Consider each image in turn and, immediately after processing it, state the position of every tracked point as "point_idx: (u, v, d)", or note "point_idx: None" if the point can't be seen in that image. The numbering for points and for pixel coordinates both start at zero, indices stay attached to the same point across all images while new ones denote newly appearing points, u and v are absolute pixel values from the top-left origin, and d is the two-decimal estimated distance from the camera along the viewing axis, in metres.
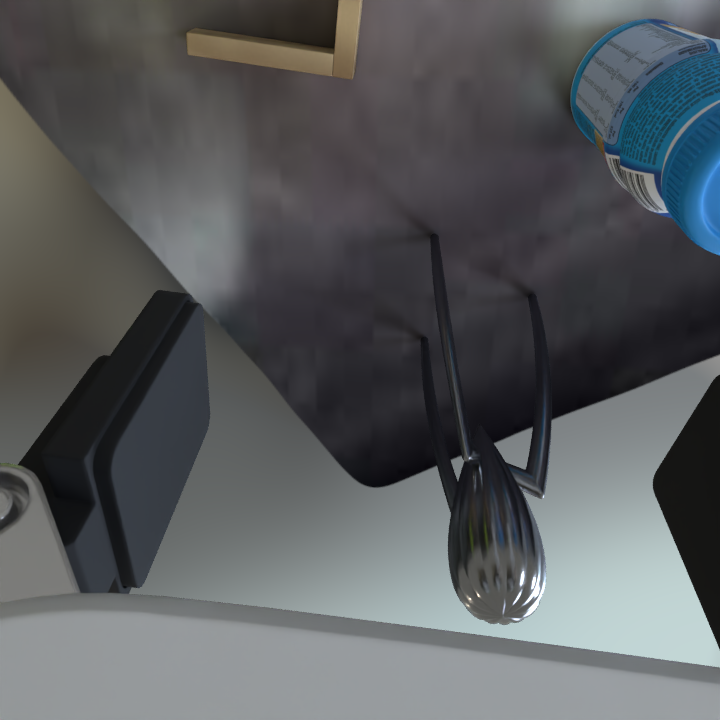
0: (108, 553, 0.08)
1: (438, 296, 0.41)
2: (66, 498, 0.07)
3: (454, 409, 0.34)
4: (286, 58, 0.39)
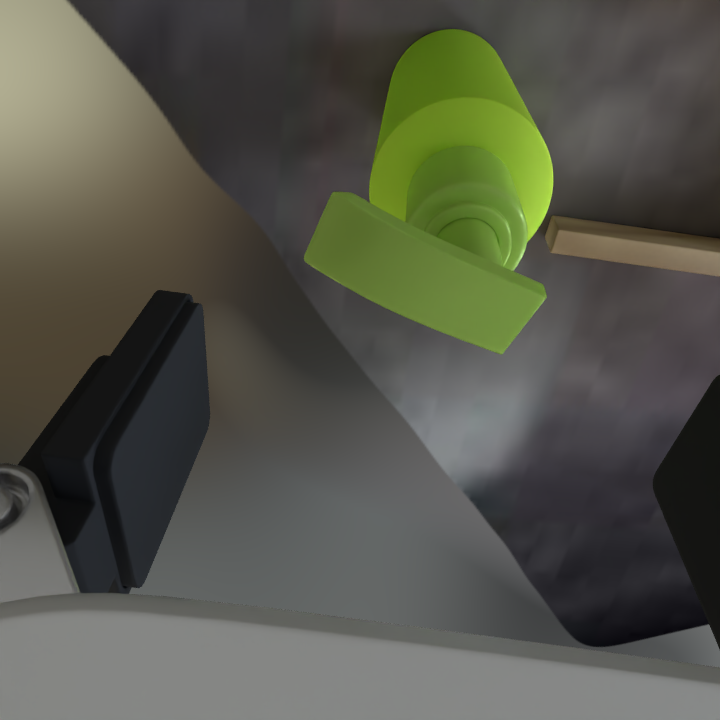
0: (108, 553, 0.08)
1: None
2: (66, 498, 0.07)
3: None
4: (679, 259, 0.31)
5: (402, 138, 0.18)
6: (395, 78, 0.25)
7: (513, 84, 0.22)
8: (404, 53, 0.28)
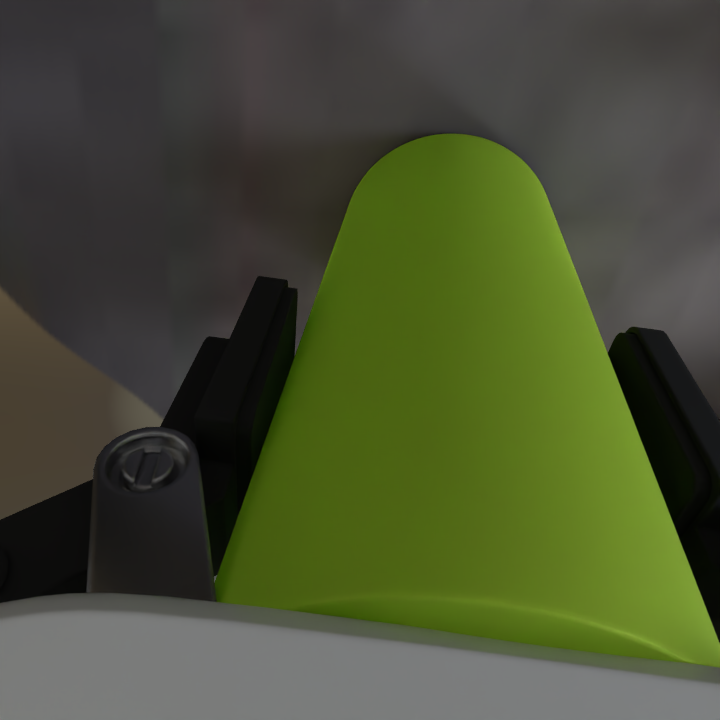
0: (236, 513, 0.08)
1: None
2: (208, 460, 0.08)
3: None
4: None
5: None
6: (338, 244, 0.13)
7: (584, 304, 0.10)
8: (368, 172, 0.15)
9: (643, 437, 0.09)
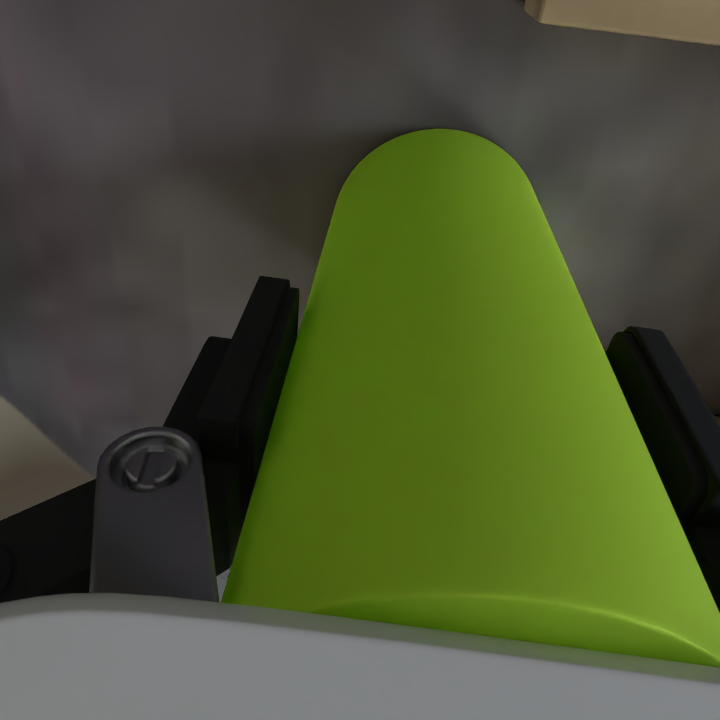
0: (238, 513, 0.08)
1: None
2: (211, 459, 0.08)
3: None
4: None
5: None
6: (329, 242, 0.13)
7: (577, 297, 0.10)
8: (355, 169, 0.15)
9: None
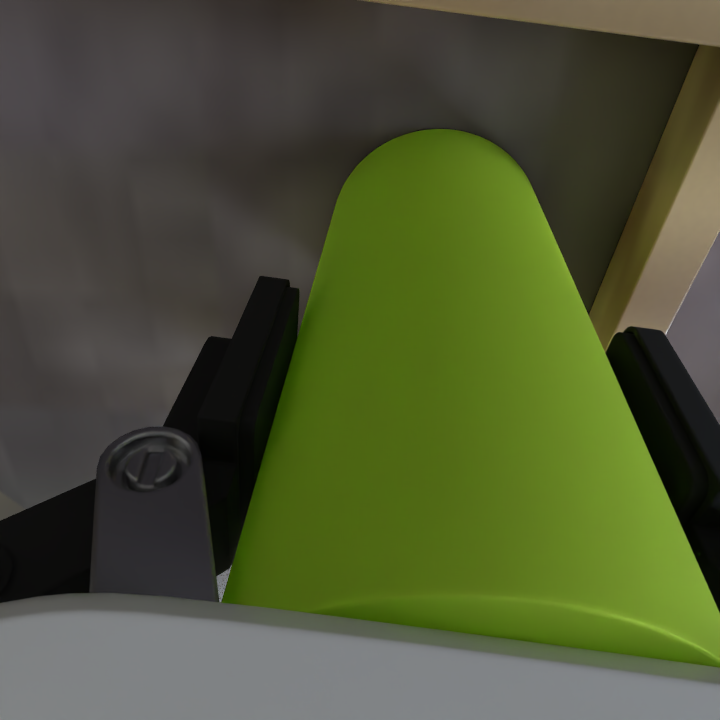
0: (238, 513, 0.08)
1: None
2: (211, 459, 0.08)
3: None
4: None
5: None
6: (329, 242, 0.13)
7: (577, 298, 0.10)
8: (356, 169, 0.15)
9: None
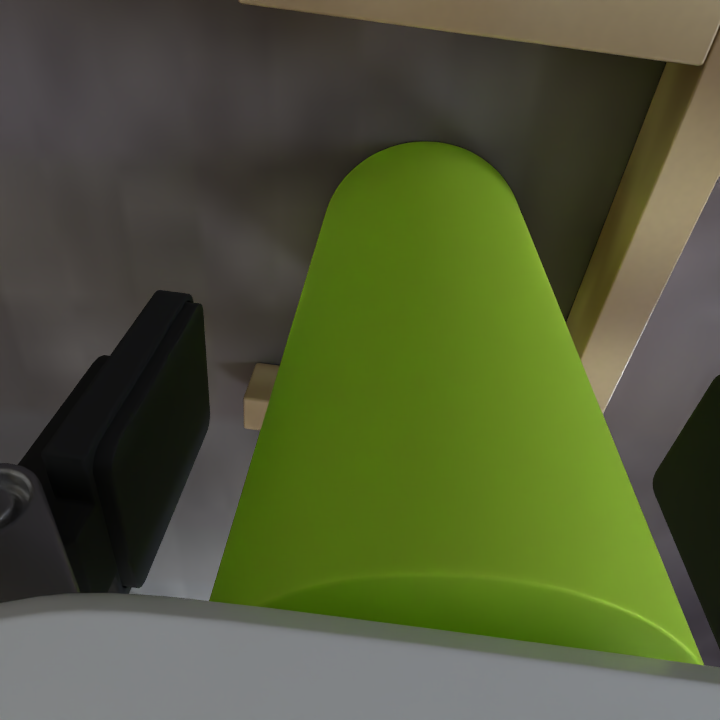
0: (108, 553, 0.08)
1: None
2: (66, 498, 0.07)
3: None
4: None
5: None
6: (318, 251, 0.13)
7: (553, 303, 0.10)
8: (344, 180, 0.16)
9: None
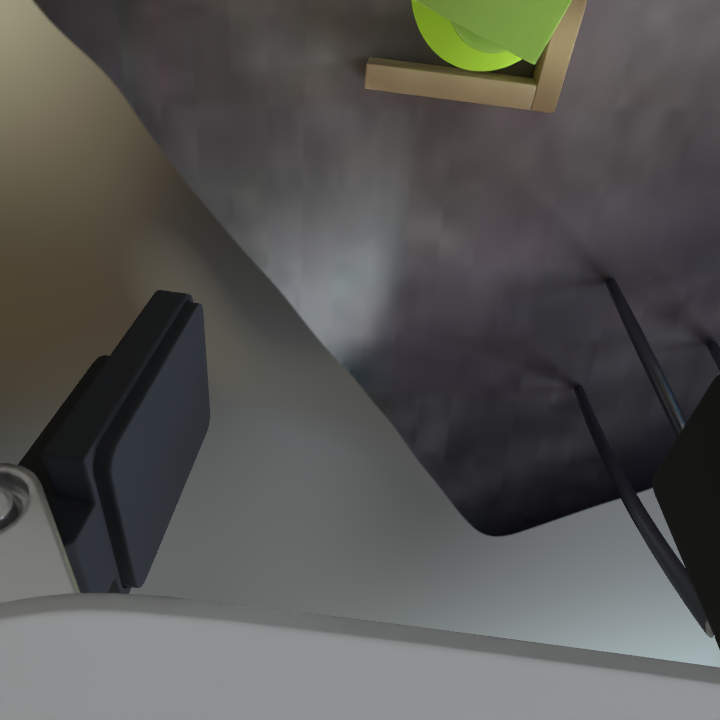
0: (108, 553, 0.08)
1: (648, 360, 0.35)
2: (66, 498, 0.07)
3: None
4: (480, 90, 0.34)
5: None
6: None
7: None
8: None
9: None
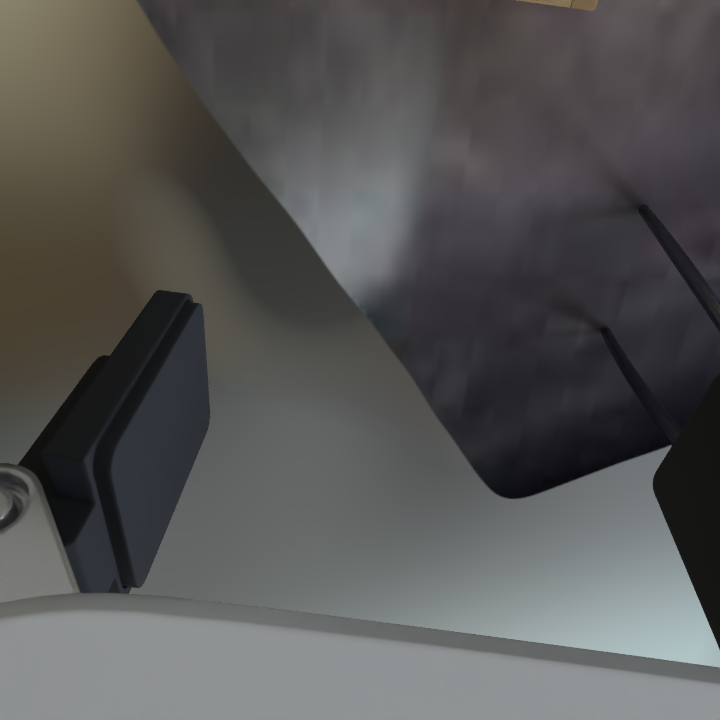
0: (108, 553, 0.08)
1: (693, 275, 0.34)
2: (66, 498, 0.07)
3: None
4: None
5: None
6: None
7: None
8: None
9: None
